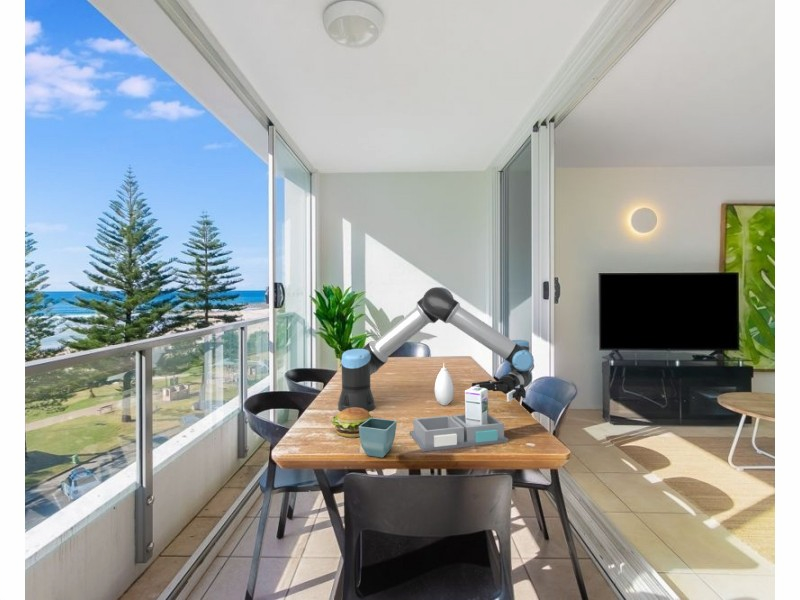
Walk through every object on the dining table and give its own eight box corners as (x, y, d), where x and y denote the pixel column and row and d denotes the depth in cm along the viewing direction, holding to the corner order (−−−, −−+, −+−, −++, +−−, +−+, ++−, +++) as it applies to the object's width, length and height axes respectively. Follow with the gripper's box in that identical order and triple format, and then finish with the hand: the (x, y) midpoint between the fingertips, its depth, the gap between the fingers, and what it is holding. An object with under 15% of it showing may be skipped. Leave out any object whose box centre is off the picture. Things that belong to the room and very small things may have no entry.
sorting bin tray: (422, 451, 117) (422, 433, 117) (409, 434, 131) (409, 417, 131) (508, 442, 123) (508, 424, 123) (486, 426, 138) (486, 410, 138)
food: (324, 431, 135) (324, 408, 135) (359, 423, 143) (359, 401, 143) (344, 443, 124) (344, 418, 124) (381, 433, 132) (381, 409, 132)
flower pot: (397, 449, 118) (397, 420, 118) (387, 461, 110) (386, 429, 110) (370, 446, 121) (370, 417, 121) (358, 457, 113) (357, 426, 113)
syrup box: (482, 437, 125) (481, 391, 125) (464, 434, 128) (464, 389, 128) (488, 432, 130) (488, 388, 129) (471, 428, 133) (471, 385, 133)
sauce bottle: (431, 404, 166) (430, 361, 165) (444, 401, 170) (444, 359, 170) (443, 408, 159) (443, 364, 159) (457, 405, 164) (457, 362, 164)
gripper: (544, 397, 146) (524, 411, 129) (481, 388, 161) (456, 400, 143) (543, 377, 146) (524, 388, 129) (481, 370, 160) (456, 379, 143)
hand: (488, 394), depth 136 cm, fingers open, 13 cm apart
